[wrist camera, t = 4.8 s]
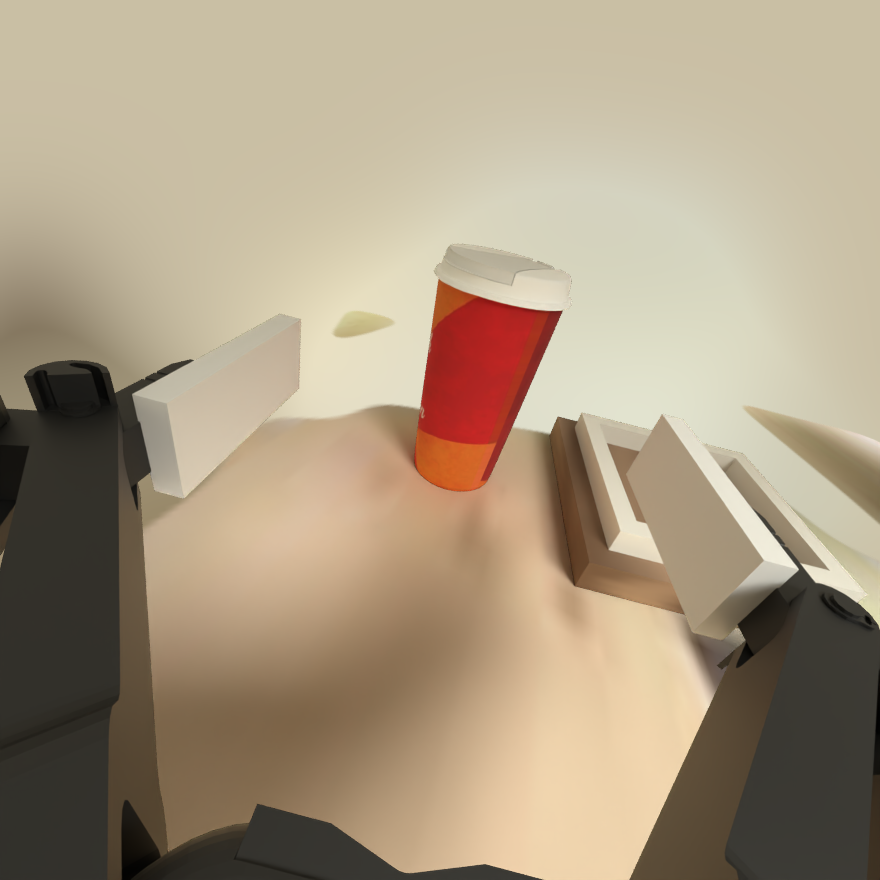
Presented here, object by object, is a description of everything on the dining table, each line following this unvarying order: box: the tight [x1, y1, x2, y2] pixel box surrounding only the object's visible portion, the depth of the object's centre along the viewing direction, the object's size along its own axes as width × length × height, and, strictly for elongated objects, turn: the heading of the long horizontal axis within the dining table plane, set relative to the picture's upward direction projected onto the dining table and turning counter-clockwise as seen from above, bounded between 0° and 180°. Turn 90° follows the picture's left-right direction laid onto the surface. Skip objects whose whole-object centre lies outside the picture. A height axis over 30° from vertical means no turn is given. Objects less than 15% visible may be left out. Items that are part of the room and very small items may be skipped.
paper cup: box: [414, 244, 572, 491], centre depth 25 cm, size 8×8×14 cm
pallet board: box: [550, 413, 868, 628], centre depth 28 cm, size 16×16×4 cm
